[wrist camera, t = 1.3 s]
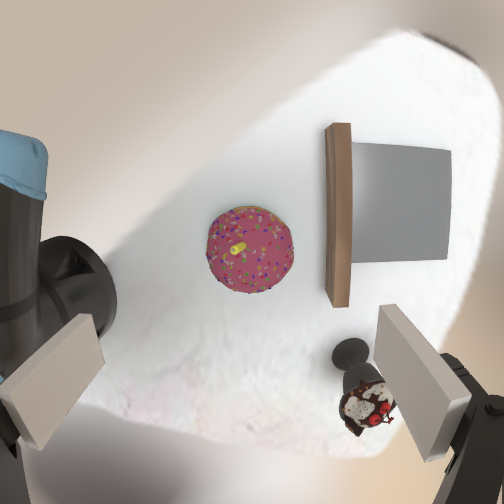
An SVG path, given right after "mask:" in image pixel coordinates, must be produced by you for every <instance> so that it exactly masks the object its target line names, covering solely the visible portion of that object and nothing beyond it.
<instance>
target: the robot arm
mask: <svg viewBox="0 0 504 504" xmlns="http://www.w3.org/2000/svg"><path fill="white" fill-rule="evenodd" d="M47 166H48V153H47V149H46V148H45V146H44V144H43V143H42V142H41V141H40V140H38V139H36V138H33V137H29V136H25V135H21V134H17V133H13V132H9V131H4V130H0V504H31V503H30V499H29V494H28V489H27V484H26V480H25V474H24V467H23V461H22V455H21V447H20V445H19V443H18V441H17V439H18V438H19V436H20V435H21V437H22V438H23V440H24V441H25V443H26V444H27V446H29V447H31V448H34V449H37V450H39V451H42V449H43V448H44V446H45V445H46V443H47V442H48V441H49V439H50V438H51V436H52V435H53V433H54V432H55V431H56V429H57V428H58V426H59V425H60V423H61V422H62V421H63V419H64V417H65V416H66V415H67V414H68V412H69V411H70V410H71V408H72V407H73V405H74V404H75V403H76V401H77V400H78V398H79V397H80V396H81V394H82V393H83V392H84V390H85V389H86V388H87V386H88V385H89V384H90V382H91V381H92V380H93V378H94V377H95V376H96V374H97V373H98V372H99V370H100V369H101V368H102V366H103V365H104V364H105V361H104V358H103V354H102V351H101V348H100V344H99V341H98V340H99V339H100V338H101V337H102V336H103V335H104V334H105V332H106V331H107V330H108V329H109V328H110V326H111V325H112V323H113V320H114V317H115V313H116V293H115V288H114V284H113V281H112V278H111V276H110V274H109V272H108V270H107V268H106V266H105V264H104V263H103V261H102V260H101V259H100V257H99V256H98V255H97V254H96V253H95V252H94V251H93V250H92V249H91V248H90V247H89V246H87V245H86V244H85V243H83V242H81V241H79V240H77V239H75V238H72V237H68V236H56V237H53V238H50V239H47V240H45V241H42V242H40V239H41V225H42V214H43V204H44V200H46V198H47V194H46V192H45V186H46V175H47ZM373 359H374V361H375V363H376V365H377V367H378V369H379V371H380V372H381V374H382V376H383V378H384V380H385V382H386V384H387V386H388V388H389V390H390V392H391V394H392V396H393V398H394V400H395V402H396V404H397V406H398V408H399V410H400V412H401V414H402V416H403V418H404V420H405V422H406V424H407V426H408V428H409V430H410V432H411V435H412V437H413V439H414V441H415V443H416V445H417V447H418V449H419V452H420V454H421V456H422V458H423V460H424V462H425V463H426V462H429V461H432V460H436V459H439V458H442V457H445V454H446V453H447V451H448V449H449V447H450V445H451V447H452V449H453V450H454V452H455V453H454V455H453V457H452V459H451V461H450V463H449V465H448V466H447V468H446V470H445V473H446V474H445V477H444V479H443V482H442V484H441V486H440V489H439V491H438V493H437V495H436V497H435V500H434V502H433V504H496V503H497V500H498V496H499V492H500V488H501V484H502V504H504V397H502V396H499V395H488V394H487V393H486V392H485V390H484V389H483V388H482V387H481V386H480V384H479V383H478V382H477V381H476V380H475V379H474V377H473V376H472V375H470V373H469V372H468V370H467V369H466V368H464V366H463V365H462V364H461V362H460V361H459V360H458V359H457V358H455V357H453V356H452V355H450V354H448V353H444V354H438V352H437V351H436V350H435V349H434V348H433V347H432V345H431V344H430V343H429V342H428V341H427V339H426V338H425V337H424V336H423V335H422V334H421V333H420V331H419V330H418V329H417V328H416V327H415V326H414V324H413V323H412V322H411V321H410V320H409V319H408V318H407V317H406V315H405V314H404V313H403V312H402V311H401V310H400V309H399V308H398V306H397V305H396V304H390V305H379V315H378V325H377V333H376V341H375V349H374V356H373Z"/></svg>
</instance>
